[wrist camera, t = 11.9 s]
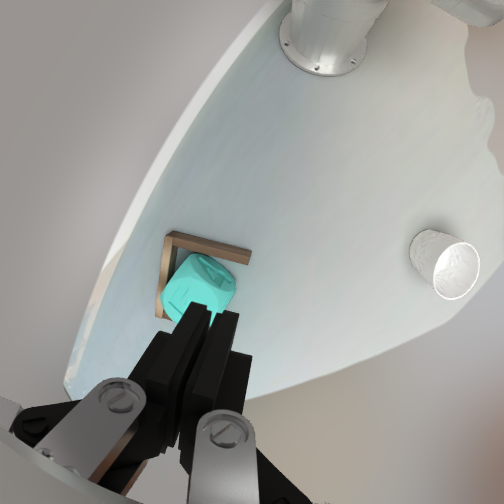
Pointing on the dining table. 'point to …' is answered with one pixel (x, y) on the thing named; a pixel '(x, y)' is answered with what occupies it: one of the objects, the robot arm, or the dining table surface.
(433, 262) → the white cup
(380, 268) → the dining table surface
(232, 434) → the robot arm
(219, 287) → the decorative dice
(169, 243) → the corral
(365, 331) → the dining table surface
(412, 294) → the dining table surface
